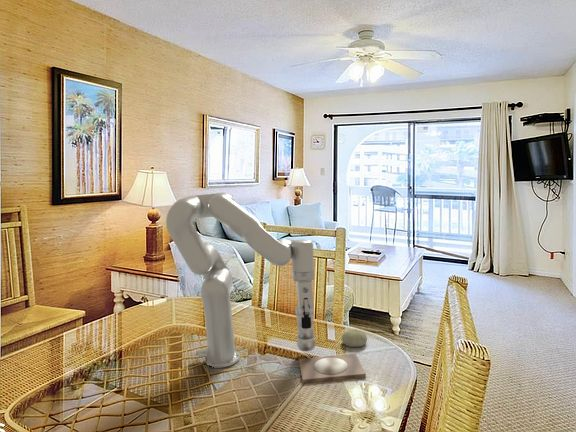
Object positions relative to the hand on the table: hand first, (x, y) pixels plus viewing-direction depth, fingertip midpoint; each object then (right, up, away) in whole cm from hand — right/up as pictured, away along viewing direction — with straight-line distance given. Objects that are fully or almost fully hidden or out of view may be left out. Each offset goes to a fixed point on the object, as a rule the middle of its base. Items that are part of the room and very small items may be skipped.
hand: (305, 323), depth 149 cm
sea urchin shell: (+19, -10, +8) cm, 23 cm away
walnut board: (+8, -12, -10) cm, 18 cm away
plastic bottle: (0, -10, +1) cm, 10 cm away
